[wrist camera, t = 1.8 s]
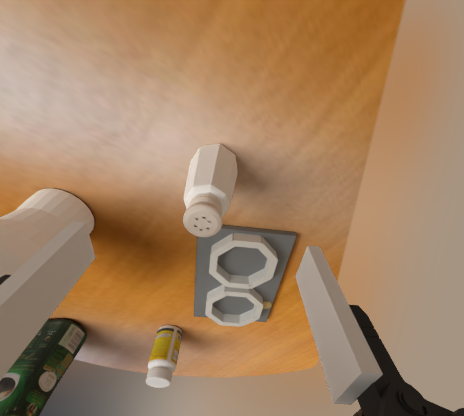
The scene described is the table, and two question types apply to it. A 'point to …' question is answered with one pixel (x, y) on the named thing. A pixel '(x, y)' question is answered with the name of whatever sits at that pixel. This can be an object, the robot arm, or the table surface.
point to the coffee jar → (40, 368)
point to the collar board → (240, 273)
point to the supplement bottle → (164, 356)
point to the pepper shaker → (209, 189)
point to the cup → (38, 225)
